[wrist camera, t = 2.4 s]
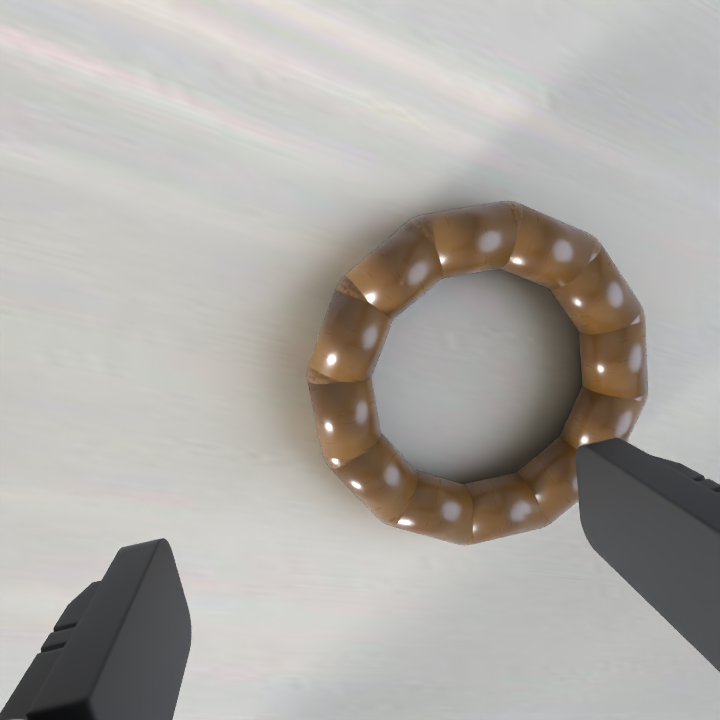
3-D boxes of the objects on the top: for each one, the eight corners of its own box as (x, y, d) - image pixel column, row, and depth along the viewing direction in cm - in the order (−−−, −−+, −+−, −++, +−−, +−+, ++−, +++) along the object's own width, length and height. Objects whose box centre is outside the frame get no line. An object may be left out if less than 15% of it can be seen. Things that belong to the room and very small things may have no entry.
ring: (280, 239, 16) (278, 238, 14) (614, 182, 17) (654, 174, 15) (342, 551, 19) (348, 586, 17) (629, 486, 20) (665, 512, 18)
